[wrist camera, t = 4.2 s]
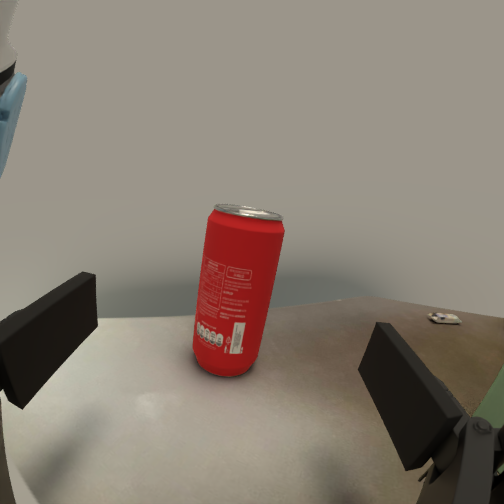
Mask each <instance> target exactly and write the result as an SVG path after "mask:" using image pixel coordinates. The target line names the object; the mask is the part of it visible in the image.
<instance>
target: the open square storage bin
mask: <svg viewBox="0 0 504 504" xmlns="http://www.w3.org/2000/svg"><path fill="white" fill-rule="evenodd" d="M475 416H477V417H482V418H484V419H486V420H487V421H488V422H489V423H490V424H491V425H492V427H493V428H501V427H502V426H503V425H504V364H503V366H502V368H501V370H500V372H499V374H498V375H497V377H496V379H495V381H494V382H493V384H492V386H491V387H490V389H489V391H488V392H487V394H486V396H485V397H484V399H483V400H482V402H481V403H480V405H479V406H478V408H477V409H476V411H475V412H474V414H473V415H472V417H475ZM503 471H504V464H503V465H502V466H501V467H500V468H499V469H498V472H499V474H501V473H502V472H503Z"/></svg>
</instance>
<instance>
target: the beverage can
mask: <svg viewBox="0 0 504 504" xmlns="http://www.w3.org/2000/svg"><path fill="white" fill-rule="evenodd" d="M282 220H283V216H281V215H279V214H276V213H272V212H269V211H265V210H261V209H256V208H251V207H244V206H238V205H228V204H216V205H214V210H213V212H212V213H211V215H210V216H209V217H208V222H207V229H206V236H205V243H204V251H203V258H202V265H201V273H200V282H199V290H198V298H197V307H196V316H195V326H194V336H193V351H194V353H195V355H196V357H197V362H198V364H199V365H200V366H201V367H202V368H203V369H204V370H205V371H207V372H209V373H211V374H214V375H217V376H222V377H234V376H239V375H242V374H244V373H245V372H247V371H248V369H249V368H250V366H251V365H252V364H253V363H254V362H255V360H256V359H257V356H258V352H259V348H260V343H261V339H262V335H263V330H264V326H265V321H266V317H267V312H268V308H269V303H270V299H271V294H272V290H273V285H274V280H275V275H276V271H277V266H278V261H279V256H280V251H281V247H282V242H283V237H284V232H285V230H284V227H283V224H282Z"/></svg>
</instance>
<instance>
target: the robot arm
mask: <svg viewBox="0 0 504 504" xmlns="http://www.w3.org/2000/svg"><path fill="white" fill-rule="evenodd" d="M18 1H19V0H0V177H1V175H2V173H3V170H4V168H5V165H6V161H7V158H8V154H9V150H10V147H11V143H12V140H13V136H14V132H15V128H16V124H17V120H18V117H19V114H20V110H21V106H22V102H23V99H24V95H25V90H26V83H27V77H26V75H24V74H21V73H20V72H17V73H16V74H14V68H15V63H16V58H17V52H16V50H15V49H14V48H13V46H12V45H11V44H10V43H9V41H8V38H7V37H8V34H9V30H10V26H11V23H12V19H13V16H14V13H15V10H16V7H17V4H18ZM97 327H98V321H97V305H96V275H95V274H90V273H87V272H81V273H79V274H78V275H76V276H74V277H73V278H71V279H70V280H68V281H66V282H65V283H63V284H61V285H60V286H58V287H57V288H55V289H53V290H52V291H50V292H49V293H47V294H46V295H44V296H43V297H41V298H39V299H38V300H37V301H35V302H33V303H32V304H30V305H29V306H27V307H26V308H24V309H21V310H18V311H15V312H14V313H12V314H11V315H9V316H8V317H7V318H6V319H3V320H2V321H0V391H1V390H2V389H3V390H4V392H5V394H6V397H7V399H8V401H9V402H11V403H12V404H14V405H16V406H17V407H19V408H20V409H22V410H23V409H24V407H25V406H26V405H27V404H28V403H29V401H30V400H31V399H32V398H33V397H34V396H35V394H36V393H37V392H38V391H39V390H40V389H41V387H42V386H43V385H44V384H45V383H46V382H47V381H48V379H49V378H50V377H51V376H52V375H53V374H54V373H55V372H56V370H57V369H58V368H59V367H60V366H61V365H62V364H63V363H64V362H65V361H66V359H67V358H68V357H69V356H70V355H71V354H72V353H73V352H74V351H75V350H76V349H77V348H78V347H79V345H80V344H81V343H82V342H83V341H84V340H85V339H86V338H87V337H88V336H89V335H90V334H91V333H92V332H93V331H94V330H95V329H96V328H97ZM358 371H359V373H360V375H361V377H362V379H363V381H364V383H365V385H366V387H367V389H368V391H369V393H370V395H371V397H372V399H373V401H374V403H375V405H376V407H377V410H378V412H379V414H380V416H381V418H382V420H383V422H384V424H385V426H386V429H387V431H388V433H389V435H390V437H391V439H392V442H393V444H394V446H395V448H396V450H397V453H398V455H399V457H400V459H401V461H402V464H403V466H404V468H405V471H409V470H413V469H417V468H421V467H422V466H423V465H424V464H425V463H426V462H427V461H428V460H429V459H430V457H431V458H432V460H433V462H434V463H433V464H432V465H431V466H430V468H429V469H428V470H427V471H426V472H425V473H424V474H423V475H422V476H421V477H420V478H419V480H418V481H419V482H420V481H421V480H422V479H423V478H424V477H426V479H425V482H424V485H423V488H422V490H421V493H420V496H419V498H418V501H417V503H416V504H504V471H503V472H502V473H501V474H500V475H498V474H497V470H498V469H499V468H500V467H501V466H502V465H503V464H504V425H503V426H502V427H501V428H493V427H492V425H491V424H490V423H489V422H488V421H487V420H486V419H484V418H482V417H477V416H475V417H471V418H470V417H469V415H468V414H467V413H466V411H465V410H464V409H463V407H462V406H461V405H460V403H459V402H458V401H457V400H456V398H455V397H453V394H452V393H451V392H450V391H448V390H449V389H448V388H447V387H446V386H445V384H444V383H443V382H442V381H441V380H439V379H438V378H437V377H435V376H434V375H433V374H432V373H431V372H430V371H429V369H428V368H427V367H426V366H425V364H424V363H423V362H422V361H421V360H420V358H419V357H418V356H417V355H416V354H415V352H414V351H413V350H412V349H411V348H410V346H409V345H408V344H407V343H406V342H405V340H404V339H403V338H402V337H401V336H400V335H399V333H398V332H397V331H396V330H395V329H394V328H393V326H392V325H391V324H390V323H381V322H376V325H375V328H374V330H373V333H372V336H371V338H370V341H369V343H368V346H367V349H366V351H365V353H364V356H363V358H362V361H361V363H360V365H359V368H358ZM0 504H16V503H15V499H14V495H13V491H12V486H11V482H10V477H9V472H8V466H7V460H6V454H5V447H4V438H3V428H2V412H1V399H0Z"/></svg>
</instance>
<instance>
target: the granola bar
mask: <svg viewBox="0 0 504 504" xmlns="http://www.w3.org/2000/svg"><path fill="white" fill-rule="evenodd" d="M428 315H429V316H431V318H432V319H433V320H434V321H435V322H438V323H459V322H462V321H460V320H459V318H458V317H457V316H455V315H453V314H442V313H433V314H428Z"/></svg>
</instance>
